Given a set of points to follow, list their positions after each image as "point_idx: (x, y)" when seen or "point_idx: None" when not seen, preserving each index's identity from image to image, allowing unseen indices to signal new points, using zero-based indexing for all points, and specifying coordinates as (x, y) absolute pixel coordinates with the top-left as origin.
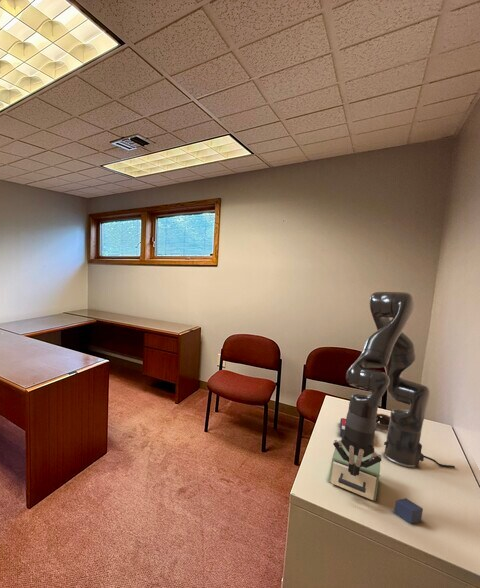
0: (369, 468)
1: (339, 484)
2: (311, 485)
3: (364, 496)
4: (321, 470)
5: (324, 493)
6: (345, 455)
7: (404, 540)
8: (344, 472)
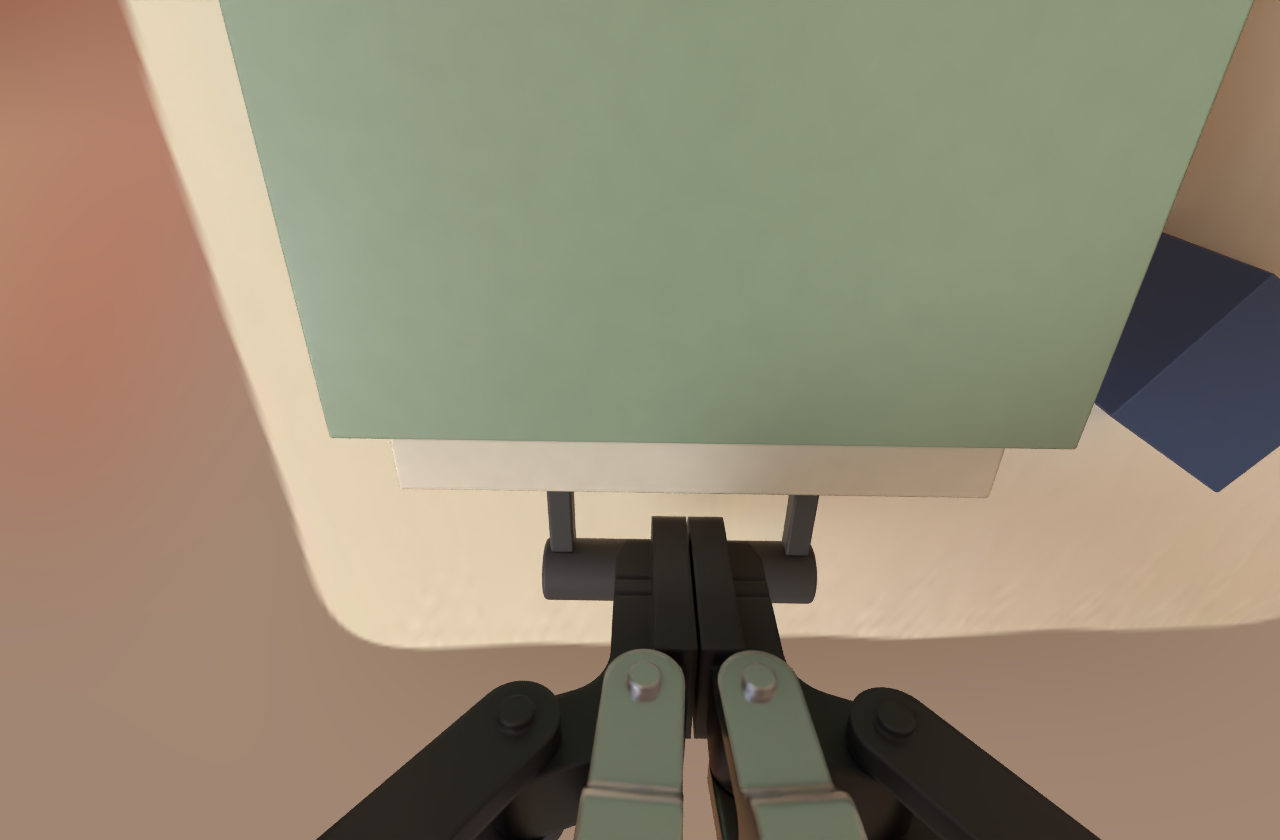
0: (951, 339)
1: None
2: (365, 460)
3: None
4: None
5: (484, 495)
6: (517, 817)
7: (989, 623)
8: None
